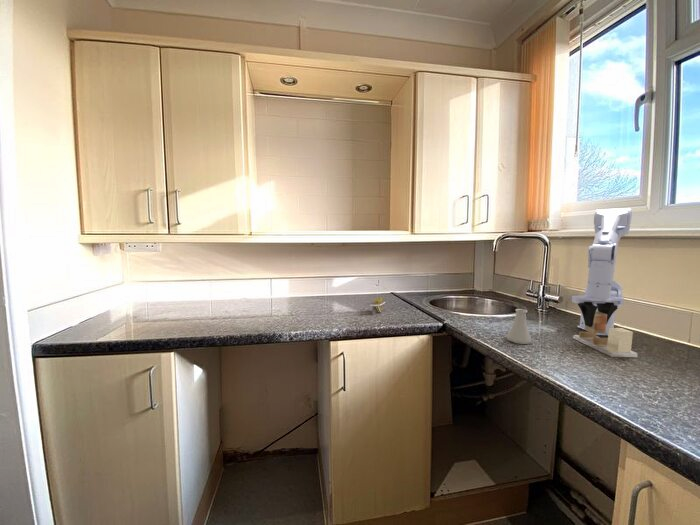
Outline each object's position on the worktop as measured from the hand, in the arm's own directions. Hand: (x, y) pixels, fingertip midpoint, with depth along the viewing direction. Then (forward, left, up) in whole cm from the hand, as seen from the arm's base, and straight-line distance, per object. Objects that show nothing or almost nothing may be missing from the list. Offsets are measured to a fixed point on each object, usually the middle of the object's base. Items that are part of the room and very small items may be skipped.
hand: (595, 326), depth 95 cm
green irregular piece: (-31, -65, -6) cm, 73 cm away
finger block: (0, 0, -2) cm, 2 cm away
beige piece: (+3, 0, -6) cm, 7 cm away
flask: (-1, -23, -6) cm, 24 cm away
